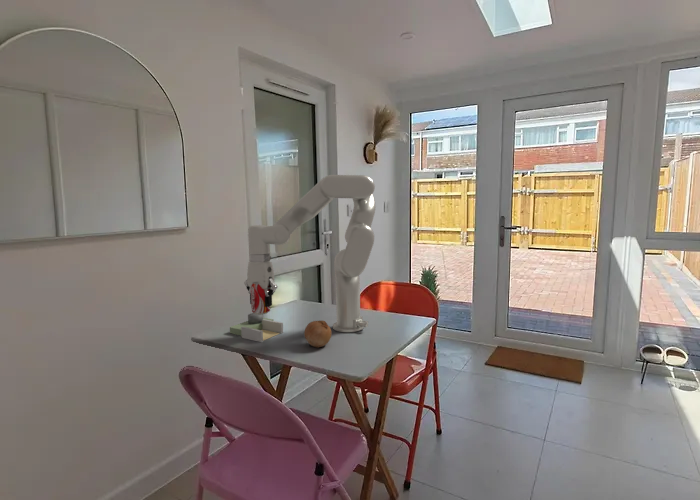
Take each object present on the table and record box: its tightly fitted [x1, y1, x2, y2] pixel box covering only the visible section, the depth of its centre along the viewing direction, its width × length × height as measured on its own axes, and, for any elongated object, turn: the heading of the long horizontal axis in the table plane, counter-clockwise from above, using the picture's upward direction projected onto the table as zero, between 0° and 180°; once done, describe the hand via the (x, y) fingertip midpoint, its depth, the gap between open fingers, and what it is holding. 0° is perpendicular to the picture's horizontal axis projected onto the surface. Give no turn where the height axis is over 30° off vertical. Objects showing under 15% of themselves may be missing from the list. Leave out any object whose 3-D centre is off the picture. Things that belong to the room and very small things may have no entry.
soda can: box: [250, 282, 271, 315], centre depth 147 cm, size 7×7×12 cm
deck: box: [229, 312, 284, 343], centre depth 153 cm, size 18×18×5 cm
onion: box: [303, 320, 332, 348], centre depth 137 cm, size 10×9×10 cm
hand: (261, 304), depth 148 cm, fingers closed on soda can, 6 cm apart
